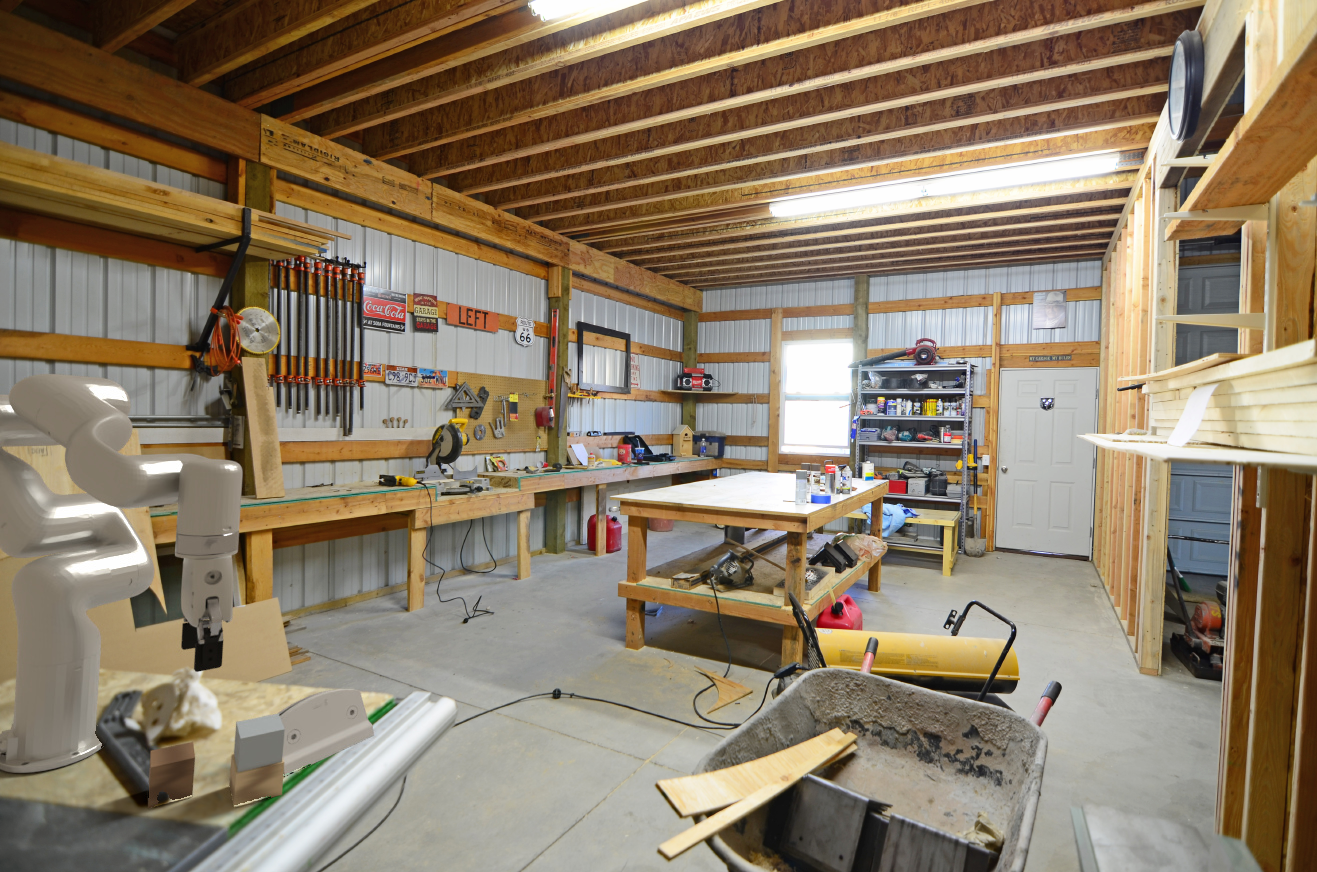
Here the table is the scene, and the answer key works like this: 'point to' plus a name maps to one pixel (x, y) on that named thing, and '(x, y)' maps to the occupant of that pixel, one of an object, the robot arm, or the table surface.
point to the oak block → (255, 782)
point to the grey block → (258, 742)
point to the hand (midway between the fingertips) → (200, 657)
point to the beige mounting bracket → (323, 726)
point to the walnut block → (171, 772)
